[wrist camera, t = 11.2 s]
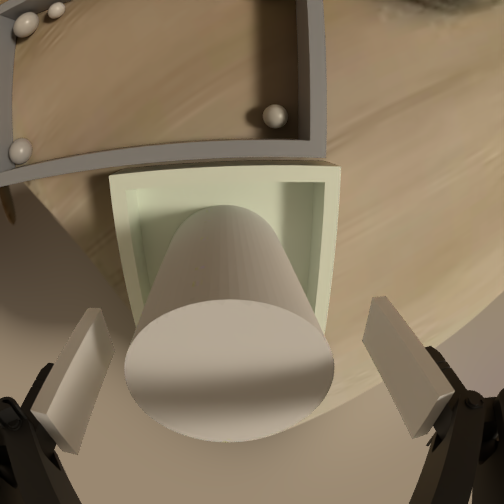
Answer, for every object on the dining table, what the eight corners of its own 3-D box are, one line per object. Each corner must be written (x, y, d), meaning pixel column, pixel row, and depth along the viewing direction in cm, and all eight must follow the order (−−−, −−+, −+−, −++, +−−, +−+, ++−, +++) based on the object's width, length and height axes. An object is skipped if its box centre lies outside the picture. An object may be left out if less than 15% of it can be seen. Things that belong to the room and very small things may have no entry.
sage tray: (123, 168, 19) (108, 175, 16) (325, 161, 20) (341, 166, 17) (150, 335, 25) (144, 358, 22) (312, 327, 26) (322, 350, 23)
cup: (146, 260, 21) (89, 380, 10) (226, 180, 20) (230, 247, 9) (225, 326, 24) (231, 457, 13) (303, 260, 22) (368, 376, 11)
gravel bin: (12, 16, 12) (-8, 9, 10) (306, -32, 14) (317, -50, 11) (8, 181, 18) (-13, 190, 15) (312, 153, 20) (326, 157, 17)
